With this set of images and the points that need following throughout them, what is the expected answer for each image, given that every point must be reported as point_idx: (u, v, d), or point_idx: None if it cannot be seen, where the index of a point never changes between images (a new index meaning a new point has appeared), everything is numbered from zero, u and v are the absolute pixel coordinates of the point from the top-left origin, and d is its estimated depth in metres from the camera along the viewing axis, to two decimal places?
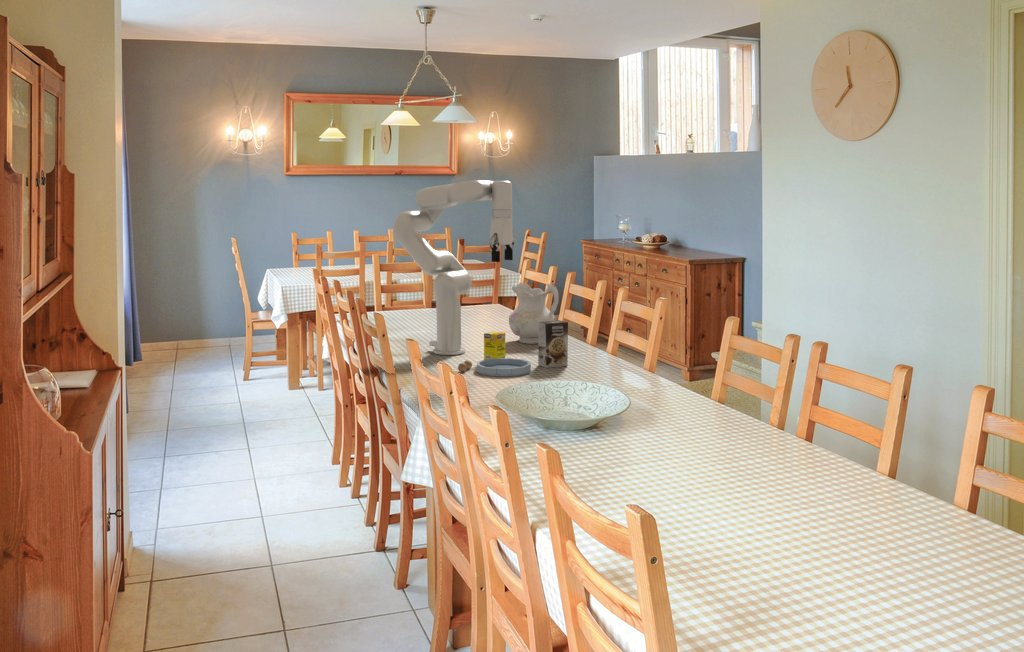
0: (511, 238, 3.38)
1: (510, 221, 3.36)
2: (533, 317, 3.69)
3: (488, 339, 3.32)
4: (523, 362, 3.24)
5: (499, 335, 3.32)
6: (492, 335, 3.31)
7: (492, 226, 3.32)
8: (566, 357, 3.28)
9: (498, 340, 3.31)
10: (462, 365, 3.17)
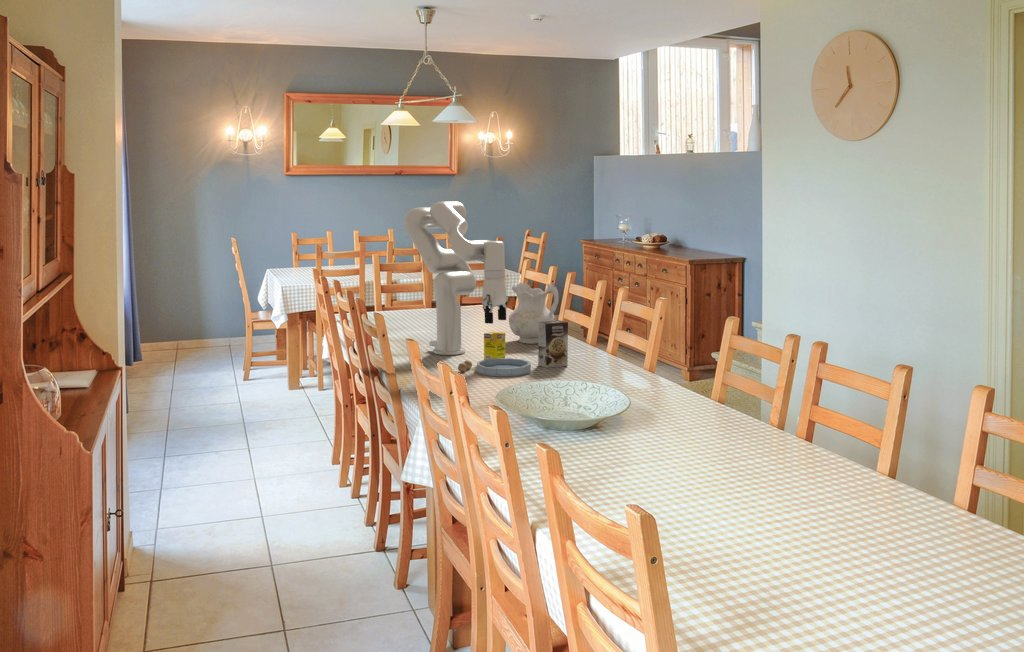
0: (504, 298, 3.34)
1: (503, 281, 3.32)
2: (533, 317, 3.69)
3: (488, 339, 3.32)
4: (523, 362, 3.24)
5: (499, 335, 3.32)
6: (492, 335, 3.31)
7: (485, 287, 3.28)
8: (566, 357, 3.28)
9: (498, 340, 3.31)
10: (462, 365, 3.17)
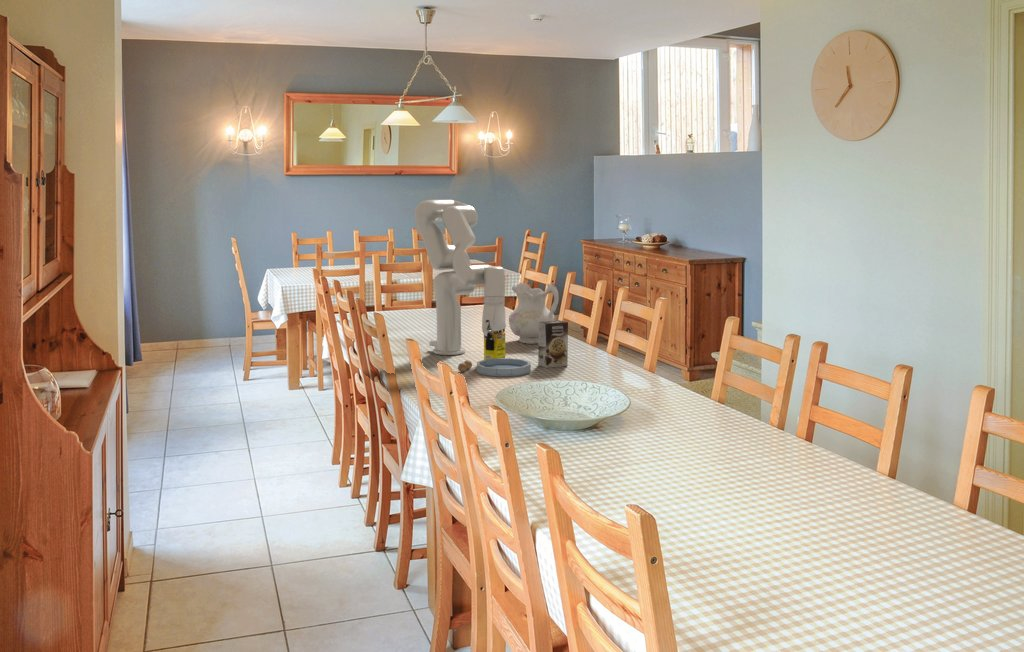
0: (504, 323, 3.35)
1: (502, 307, 3.33)
2: (533, 317, 3.69)
3: None
4: (523, 362, 3.24)
5: (499, 335, 3.32)
6: None
7: (484, 313, 3.29)
8: (566, 357, 3.28)
9: (498, 340, 3.31)
10: (462, 365, 3.17)
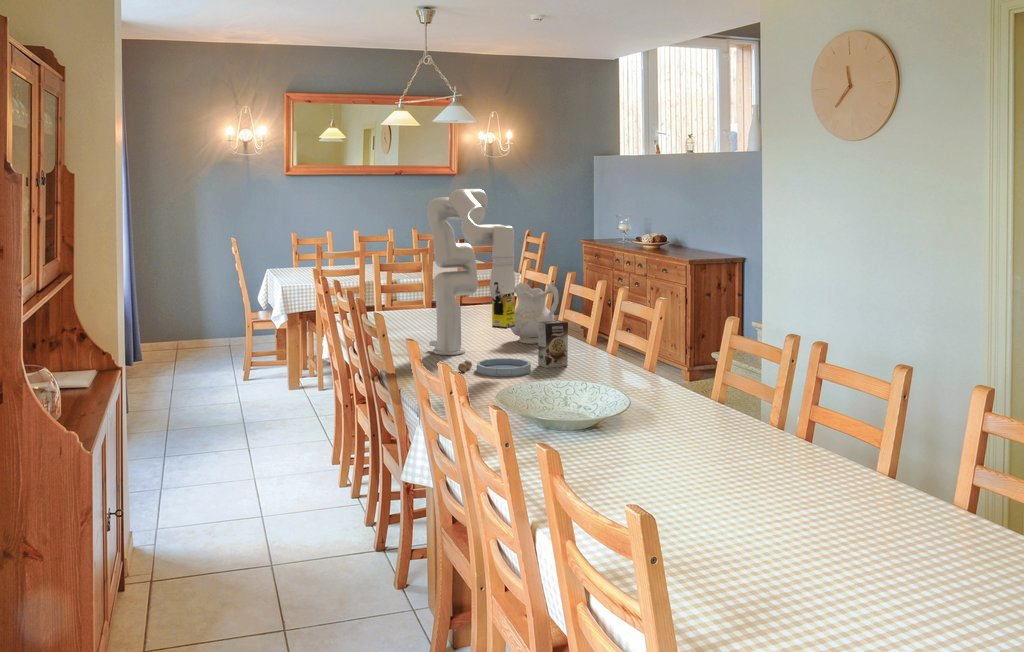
0: (513, 286, 3.17)
1: (512, 269, 3.15)
2: (533, 317, 3.69)
3: None
4: (523, 362, 3.24)
5: (508, 298, 3.13)
6: None
7: (492, 274, 3.11)
8: (566, 357, 3.28)
9: (507, 304, 3.13)
10: (462, 365, 3.17)
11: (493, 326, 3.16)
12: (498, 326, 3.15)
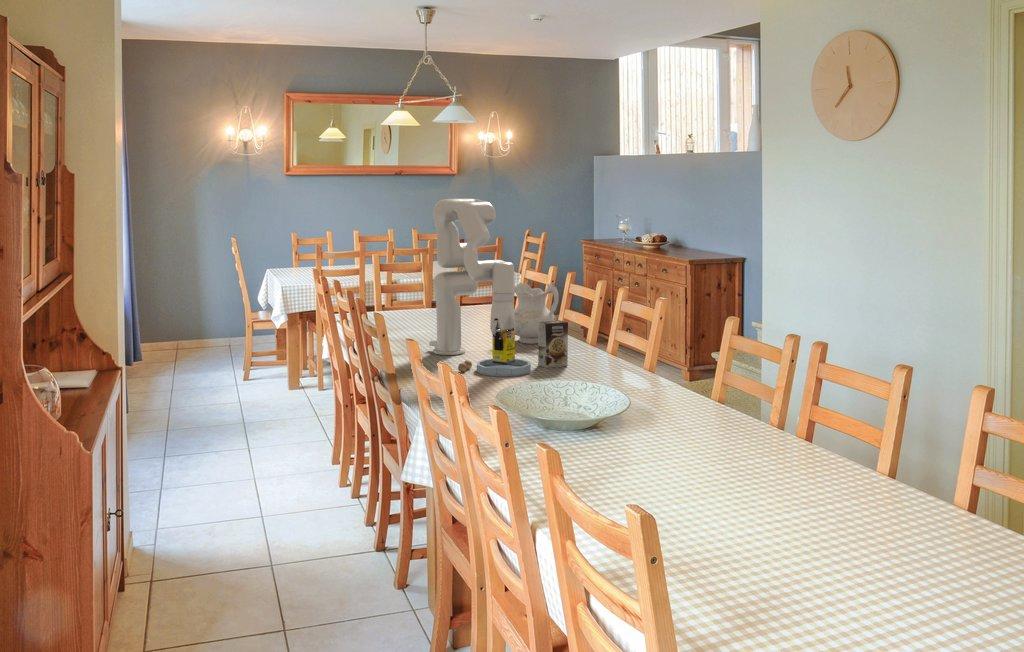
0: (513, 322, 3.19)
1: (512, 304, 3.17)
2: (533, 317, 3.69)
3: None
4: (523, 362, 3.24)
5: (508, 334, 3.15)
6: None
7: (493, 311, 3.13)
8: (566, 357, 3.28)
9: (507, 339, 3.14)
10: (462, 365, 3.17)
11: (493, 361, 3.18)
12: (498, 361, 3.16)
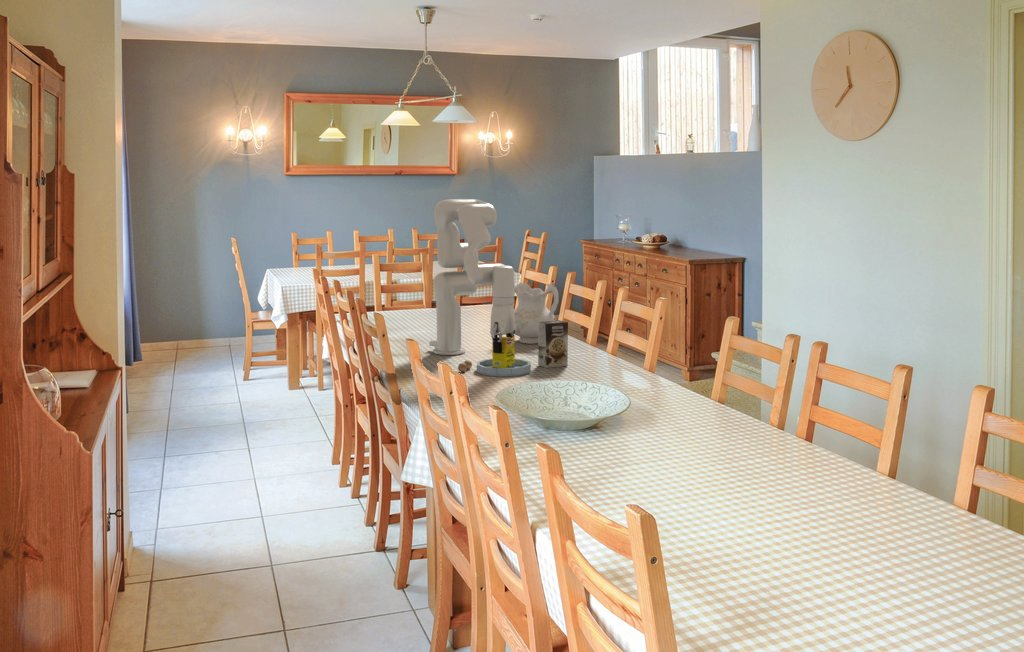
0: (513, 325, 3.19)
1: (512, 308, 3.17)
2: (533, 317, 3.69)
3: None
4: (523, 362, 3.24)
5: (508, 340, 3.15)
6: (501, 341, 3.15)
7: (493, 314, 3.13)
8: (566, 357, 3.28)
9: (507, 346, 3.15)
10: (462, 365, 3.17)
11: None
12: None
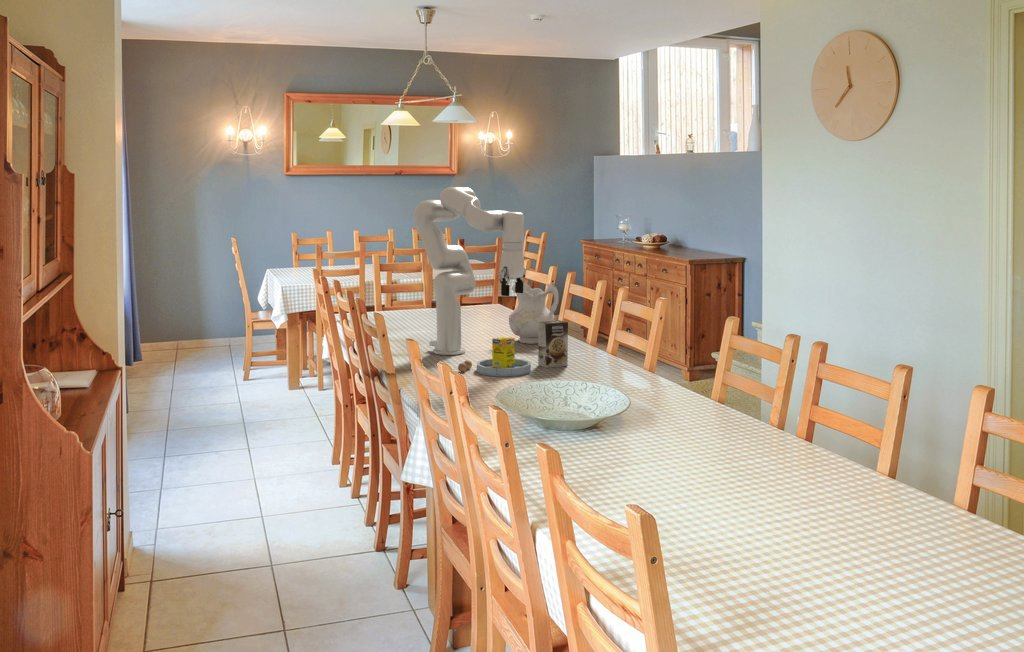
0: (522, 271, 3.28)
1: (521, 254, 3.26)
2: (533, 317, 3.69)
3: (497, 344, 3.16)
4: (523, 362, 3.24)
5: (508, 340, 3.15)
6: (501, 341, 3.15)
7: (502, 259, 3.22)
8: (566, 357, 3.28)
9: (507, 346, 3.15)
10: (462, 365, 3.17)
11: None
12: None
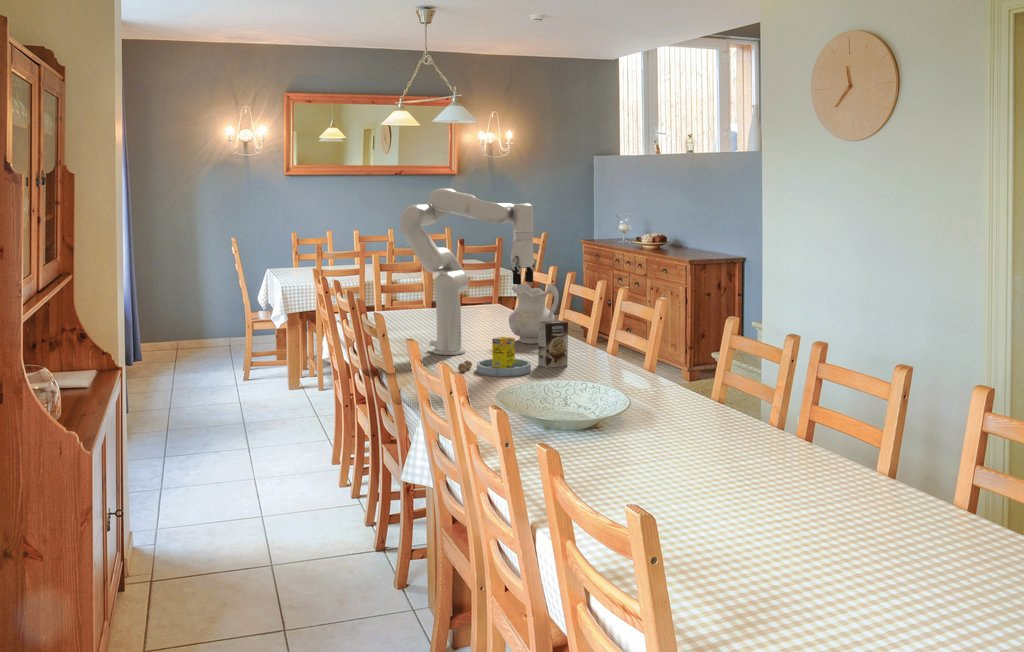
0: (532, 260, 3.41)
1: (531, 244, 3.39)
2: (533, 317, 3.69)
3: (497, 344, 3.16)
4: (523, 362, 3.24)
5: (508, 340, 3.15)
6: (501, 341, 3.15)
7: (513, 249, 3.35)
8: (566, 357, 3.28)
9: (507, 346, 3.15)
10: (462, 365, 3.17)
11: None
12: None
